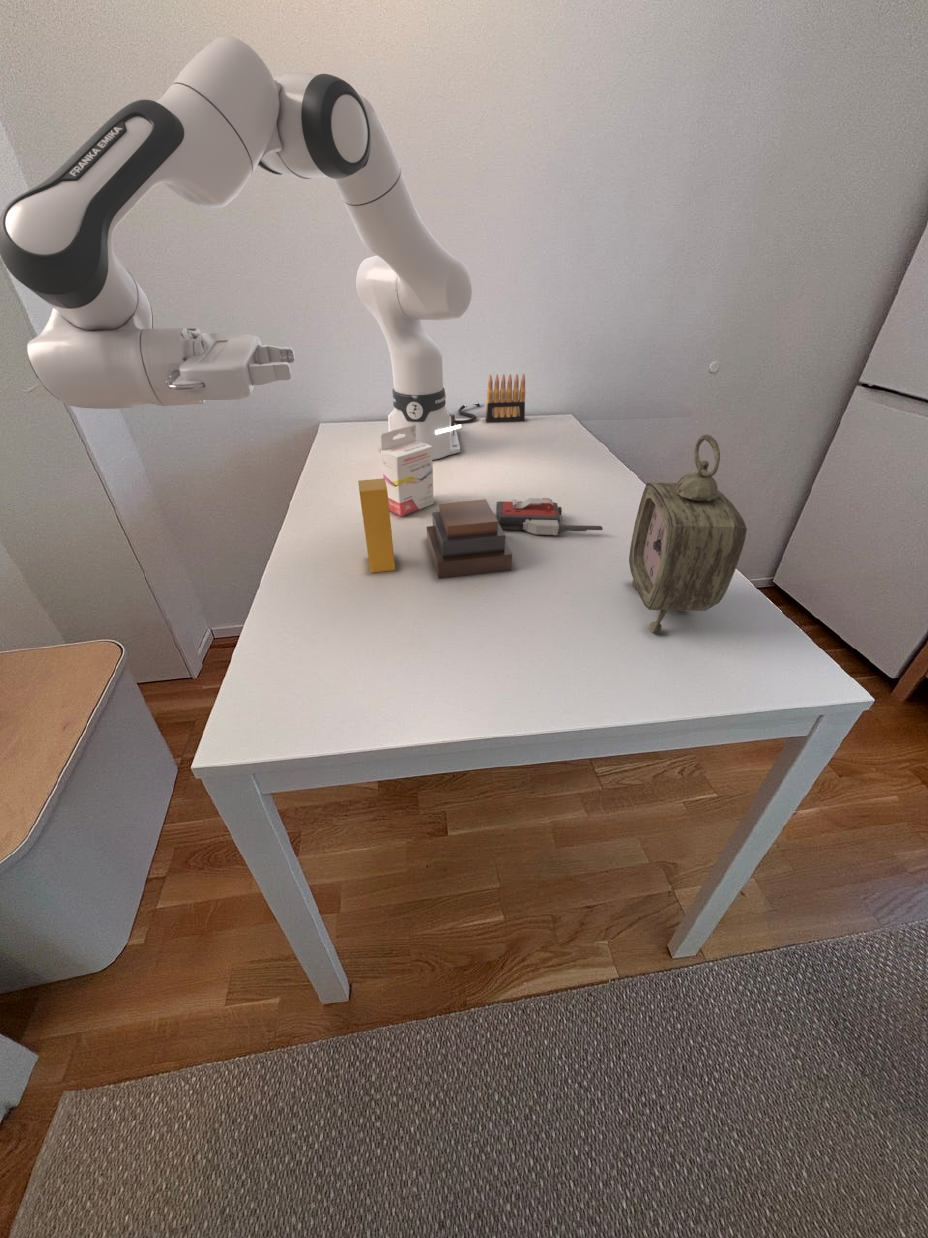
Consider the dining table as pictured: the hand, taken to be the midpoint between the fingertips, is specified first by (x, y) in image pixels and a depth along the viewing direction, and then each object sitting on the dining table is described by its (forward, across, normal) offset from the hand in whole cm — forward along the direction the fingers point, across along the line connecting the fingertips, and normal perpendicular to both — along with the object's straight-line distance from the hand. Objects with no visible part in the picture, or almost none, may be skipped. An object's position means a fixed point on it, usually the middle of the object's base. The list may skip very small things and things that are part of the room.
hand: (292, 362), depth 68 cm
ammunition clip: (+48, +63, +30) cm, 85 cm away
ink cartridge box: (+16, +16, +30) cm, 37 cm away
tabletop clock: (+48, -25, +30) cm, 62 cm away
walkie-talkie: (+39, +3, +30) cm, 49 cm away
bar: (+8, -5, +30) cm, 32 cm away
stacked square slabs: (+23, -4, +30) cm, 38 cm away
